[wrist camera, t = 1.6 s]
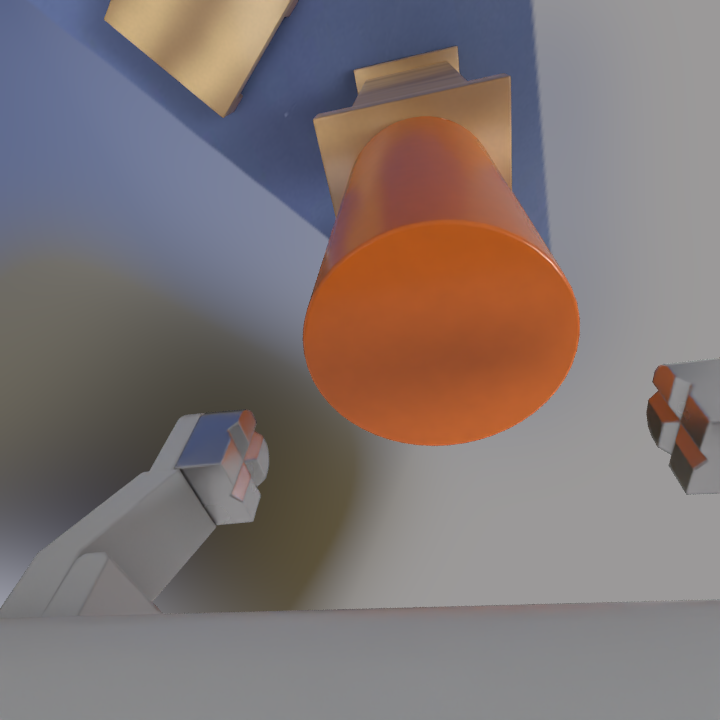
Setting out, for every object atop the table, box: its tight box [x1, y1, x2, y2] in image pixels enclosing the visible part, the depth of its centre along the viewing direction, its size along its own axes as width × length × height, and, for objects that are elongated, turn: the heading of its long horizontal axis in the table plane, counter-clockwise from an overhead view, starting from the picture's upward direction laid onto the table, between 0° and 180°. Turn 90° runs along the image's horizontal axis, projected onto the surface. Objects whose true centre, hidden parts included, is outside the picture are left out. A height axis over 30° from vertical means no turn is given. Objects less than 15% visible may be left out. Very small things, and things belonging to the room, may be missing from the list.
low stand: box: [104, 0, 299, 118], centre depth 34 cm, size 10×10×3 cm
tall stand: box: [313, 46, 512, 217], centre depth 30 cm, size 8×8×22 cm
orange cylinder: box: [303, 116, 580, 446], centre depth 16 cm, size 7×7×12 cm
